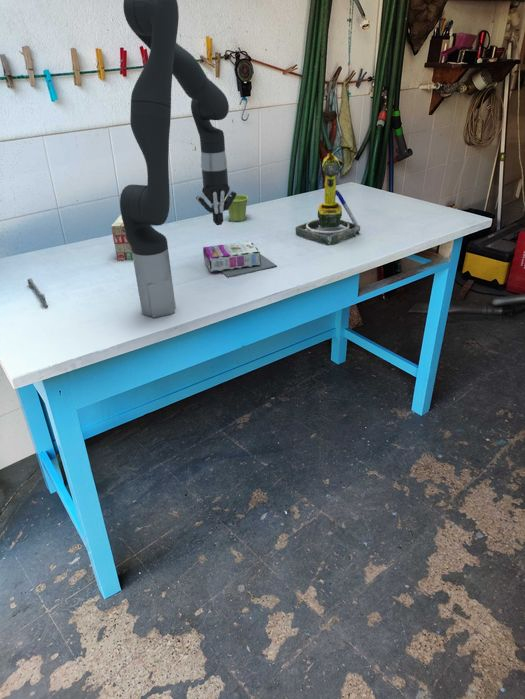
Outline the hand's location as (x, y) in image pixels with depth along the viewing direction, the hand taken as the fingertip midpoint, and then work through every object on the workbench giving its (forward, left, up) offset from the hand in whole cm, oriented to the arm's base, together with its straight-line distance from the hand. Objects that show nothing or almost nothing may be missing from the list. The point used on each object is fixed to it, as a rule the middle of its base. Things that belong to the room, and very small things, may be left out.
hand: (218, 224), depth 164 cm
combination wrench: (+4, +56, -14) cm, 58 cm away
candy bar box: (-2, +6, -10) cm, 12 cm away
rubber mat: (-2, -6, -13) cm, 14 cm away
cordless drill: (+5, -44, -13) cm, 46 cm away
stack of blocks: (+28, +22, -13) cm, 38 cm away
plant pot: (+40, -24, -13) cm, 48 cm away
